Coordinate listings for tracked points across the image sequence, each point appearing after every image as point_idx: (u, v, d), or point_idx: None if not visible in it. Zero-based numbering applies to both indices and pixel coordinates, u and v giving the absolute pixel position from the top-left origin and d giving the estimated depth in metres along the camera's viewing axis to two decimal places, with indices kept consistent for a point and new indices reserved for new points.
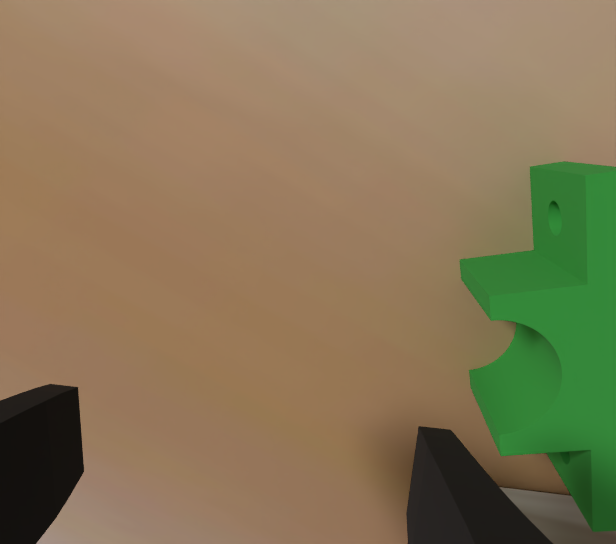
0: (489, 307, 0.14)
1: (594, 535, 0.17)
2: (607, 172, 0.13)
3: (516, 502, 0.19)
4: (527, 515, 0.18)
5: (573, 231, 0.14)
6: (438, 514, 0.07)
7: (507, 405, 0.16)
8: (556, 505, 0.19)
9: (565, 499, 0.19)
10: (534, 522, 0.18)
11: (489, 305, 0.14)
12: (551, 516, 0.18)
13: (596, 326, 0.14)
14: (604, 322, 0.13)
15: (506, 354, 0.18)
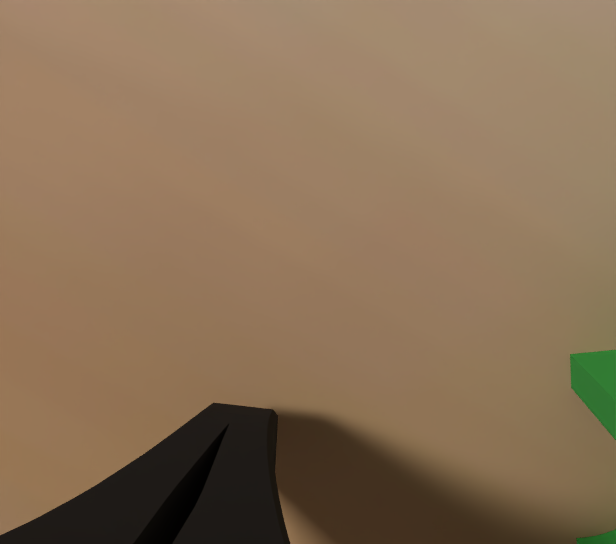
0: None
1: None
2: None
3: None
4: None
5: None
6: None
7: None
8: None
9: None
10: None
11: None
12: None
13: None
14: None
15: None
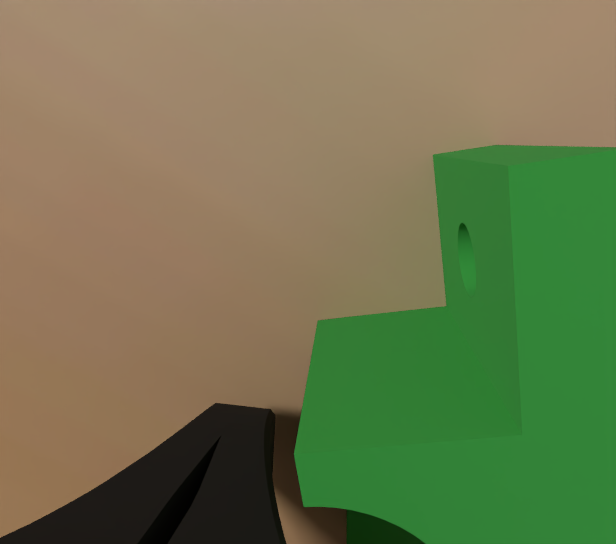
0: (299, 476, 0.06)
1: None
2: (566, 158, 0.05)
3: None
4: None
5: (493, 299, 0.06)
6: None
7: None
8: None
9: None
10: None
11: (299, 472, 0.06)
12: None
13: (546, 525, 0.06)
14: (564, 519, 0.06)
15: None
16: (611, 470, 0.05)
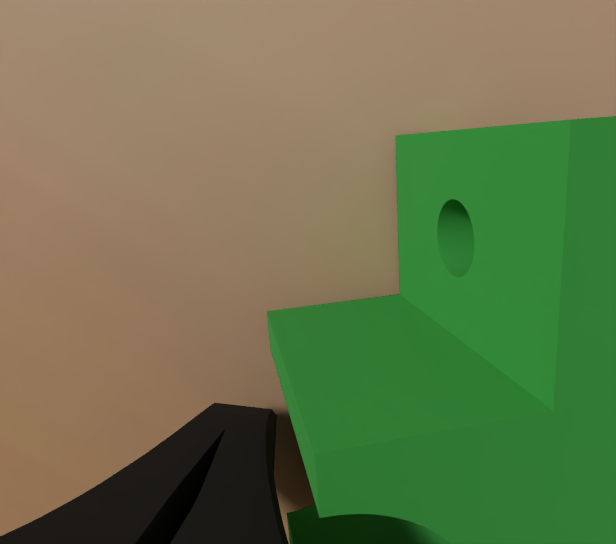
0: (315, 481, 0.05)
1: None
2: None
3: None
4: None
5: (511, 272, 0.06)
6: None
7: None
8: None
9: None
10: None
11: (315, 476, 0.05)
12: None
13: (564, 506, 0.06)
14: (580, 496, 0.06)
15: None
16: None
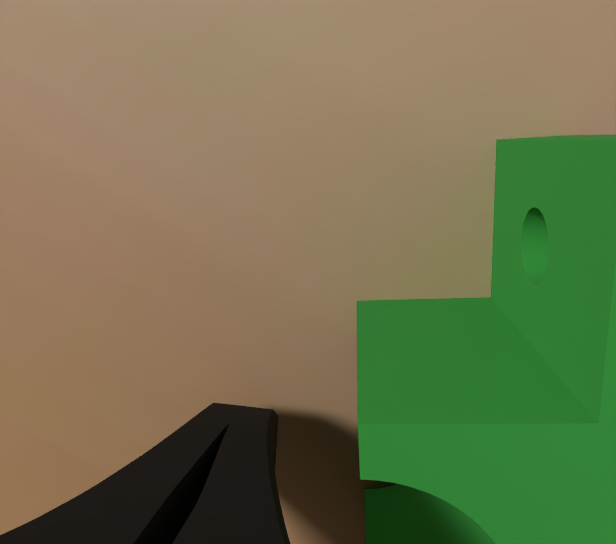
0: (359, 448, 0.06)
1: None
2: None
3: None
4: None
5: (575, 284, 0.06)
6: None
7: None
8: None
9: None
10: None
11: (359, 443, 0.06)
12: None
13: (609, 519, 0.06)
14: None
15: None
16: None
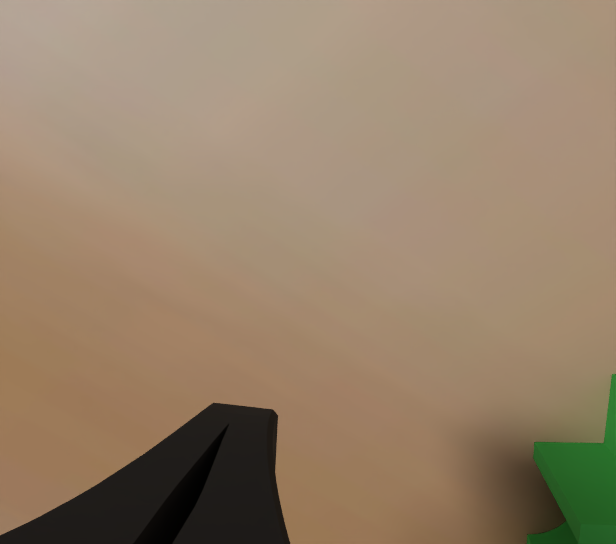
0: (578, 532, 0.15)
1: None
2: None
3: None
4: None
5: None
6: None
7: None
8: None
9: None
10: None
11: (579, 530, 0.15)
12: None
13: None
14: None
15: (564, 527, 0.20)
16: None
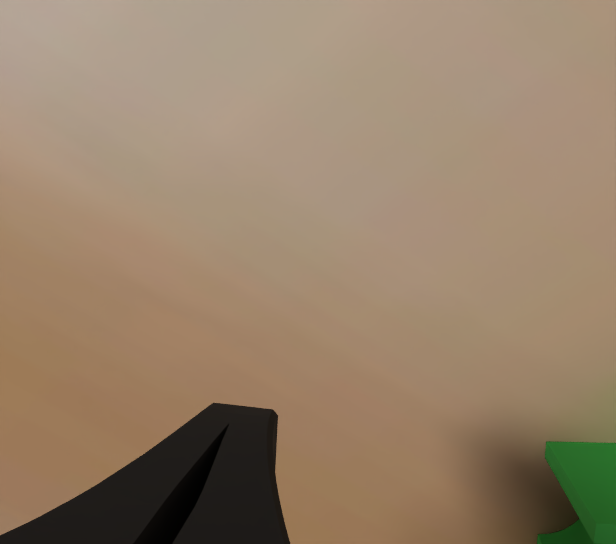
0: (593, 531, 0.15)
1: None
2: None
3: None
4: None
5: None
6: None
7: None
8: None
9: None
10: None
11: (594, 529, 0.15)
12: None
13: None
14: None
15: (575, 527, 0.20)
16: None
